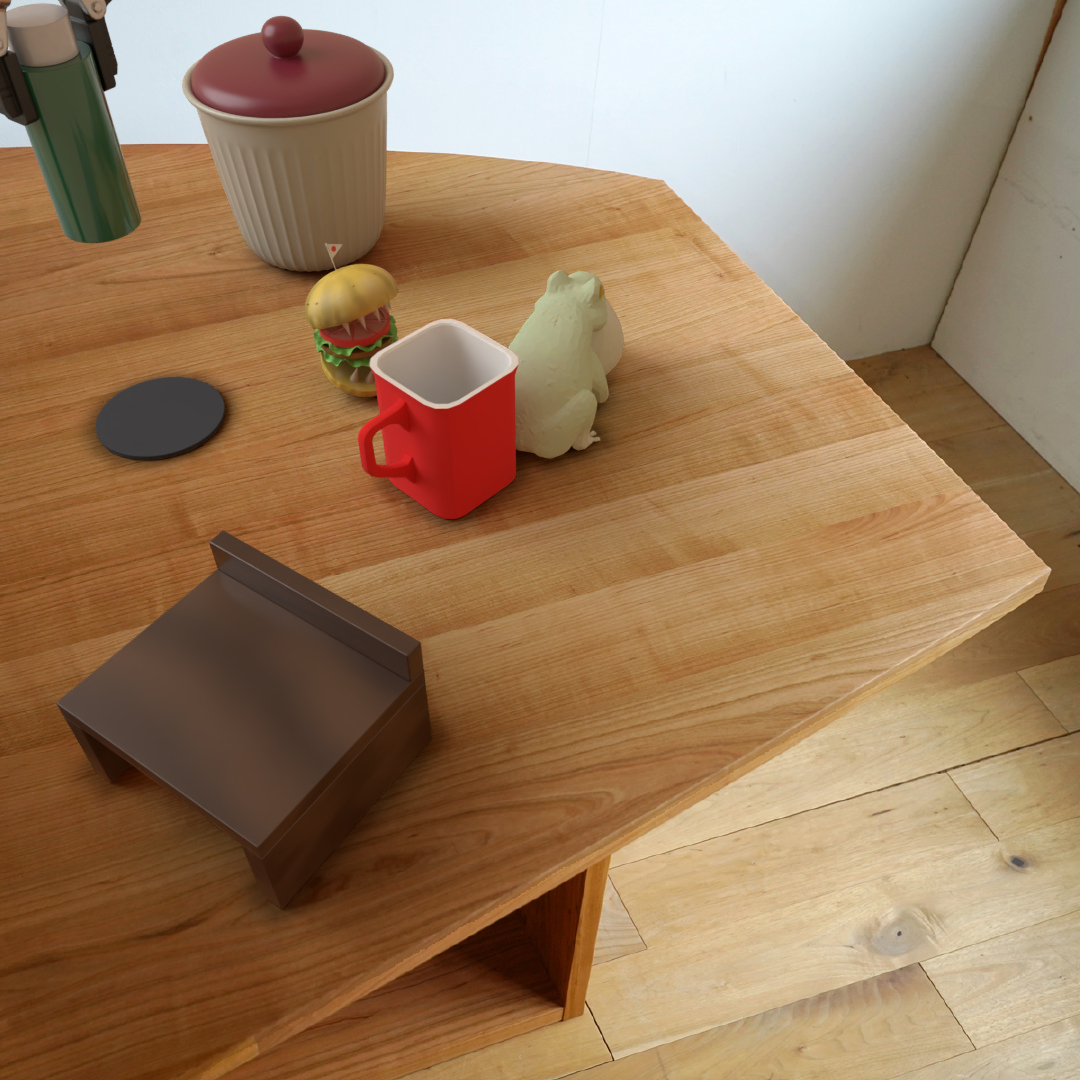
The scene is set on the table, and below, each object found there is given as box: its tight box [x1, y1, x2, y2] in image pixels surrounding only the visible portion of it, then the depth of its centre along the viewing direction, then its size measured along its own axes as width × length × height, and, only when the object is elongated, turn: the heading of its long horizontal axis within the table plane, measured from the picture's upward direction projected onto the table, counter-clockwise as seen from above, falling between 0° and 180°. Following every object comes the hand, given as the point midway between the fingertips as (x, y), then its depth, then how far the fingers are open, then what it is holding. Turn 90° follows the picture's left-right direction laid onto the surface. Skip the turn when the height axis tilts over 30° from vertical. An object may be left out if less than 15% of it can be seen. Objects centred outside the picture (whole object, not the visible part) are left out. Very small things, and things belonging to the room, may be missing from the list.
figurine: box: [507, 269, 625, 460], centre depth 82 cm, size 10×16×10 cm, turn 157°
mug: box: [357, 318, 519, 520], centre depth 74 cm, size 12×8×11 cm
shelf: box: [56, 530, 433, 910], centre depth 58 cm, size 13×15×9 cm
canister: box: [181, 15, 395, 273], centre depth 94 cm, size 18×18×21 cm
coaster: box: [95, 376, 226, 461], centre depth 83 cm, size 10×10×1 cm
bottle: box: [6, 2, 142, 244], centre depth 58 cm, size 5×5×12 cm
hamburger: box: [304, 243, 400, 398], centre depth 83 cm, size 8×7×12 cm
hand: (61, 101), depth 57 cm, fingers closed on bottle, 4 cm apart
